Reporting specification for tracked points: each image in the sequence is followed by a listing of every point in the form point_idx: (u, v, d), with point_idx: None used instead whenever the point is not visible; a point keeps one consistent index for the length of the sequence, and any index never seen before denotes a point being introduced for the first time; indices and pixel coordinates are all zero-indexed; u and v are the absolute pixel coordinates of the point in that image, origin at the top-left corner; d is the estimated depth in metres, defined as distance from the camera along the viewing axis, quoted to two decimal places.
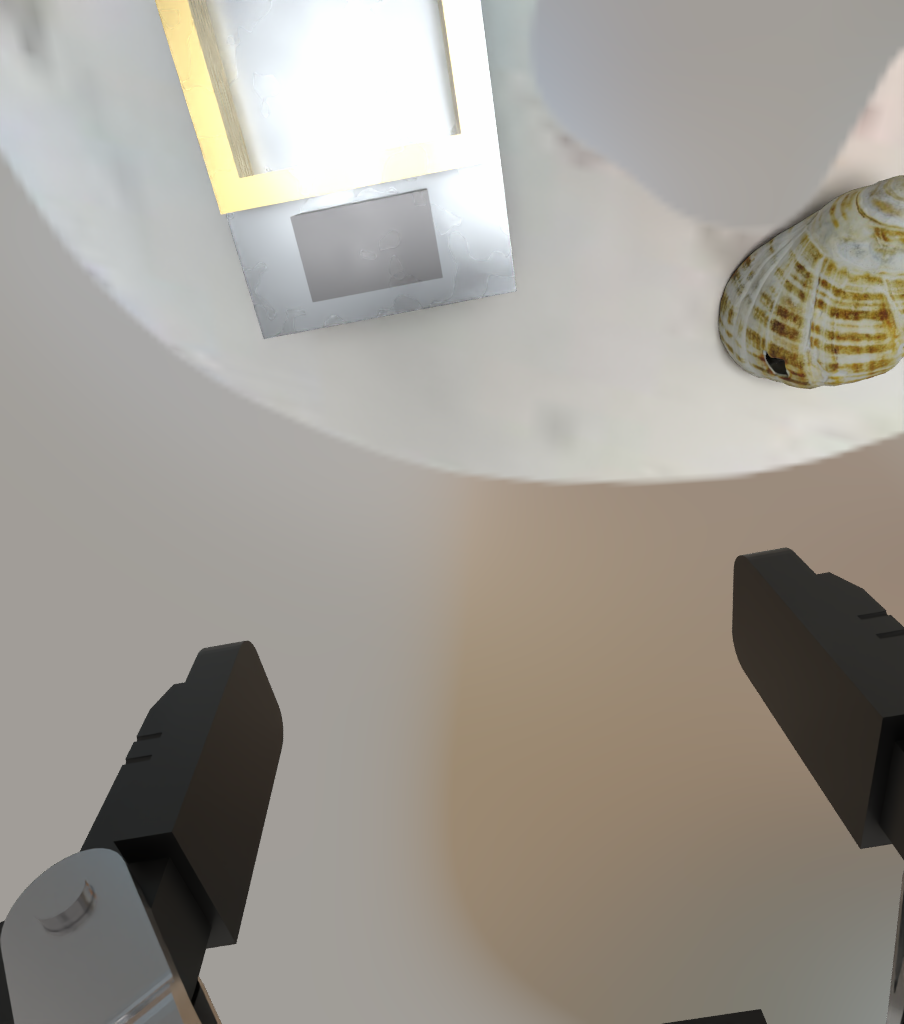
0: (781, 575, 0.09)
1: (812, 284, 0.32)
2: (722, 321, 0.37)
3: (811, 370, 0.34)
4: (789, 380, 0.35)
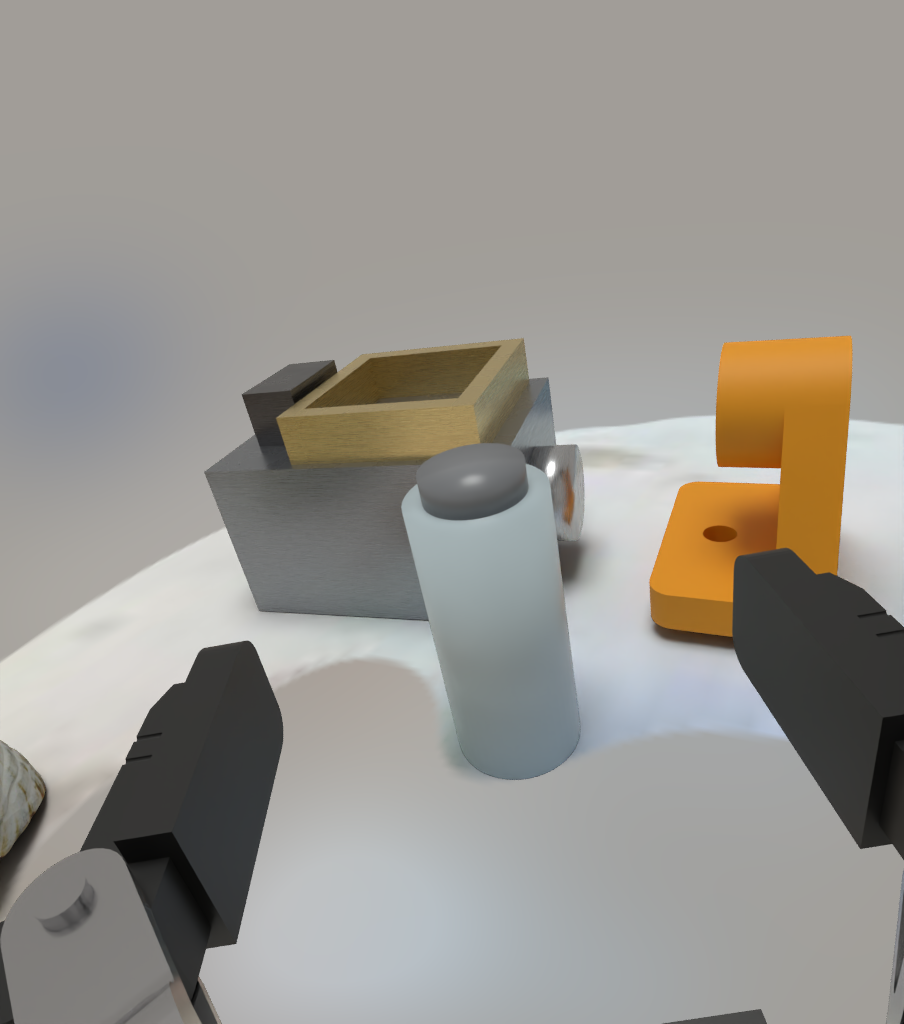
0: (781, 575, 0.09)
1: None
2: None
3: None
4: None
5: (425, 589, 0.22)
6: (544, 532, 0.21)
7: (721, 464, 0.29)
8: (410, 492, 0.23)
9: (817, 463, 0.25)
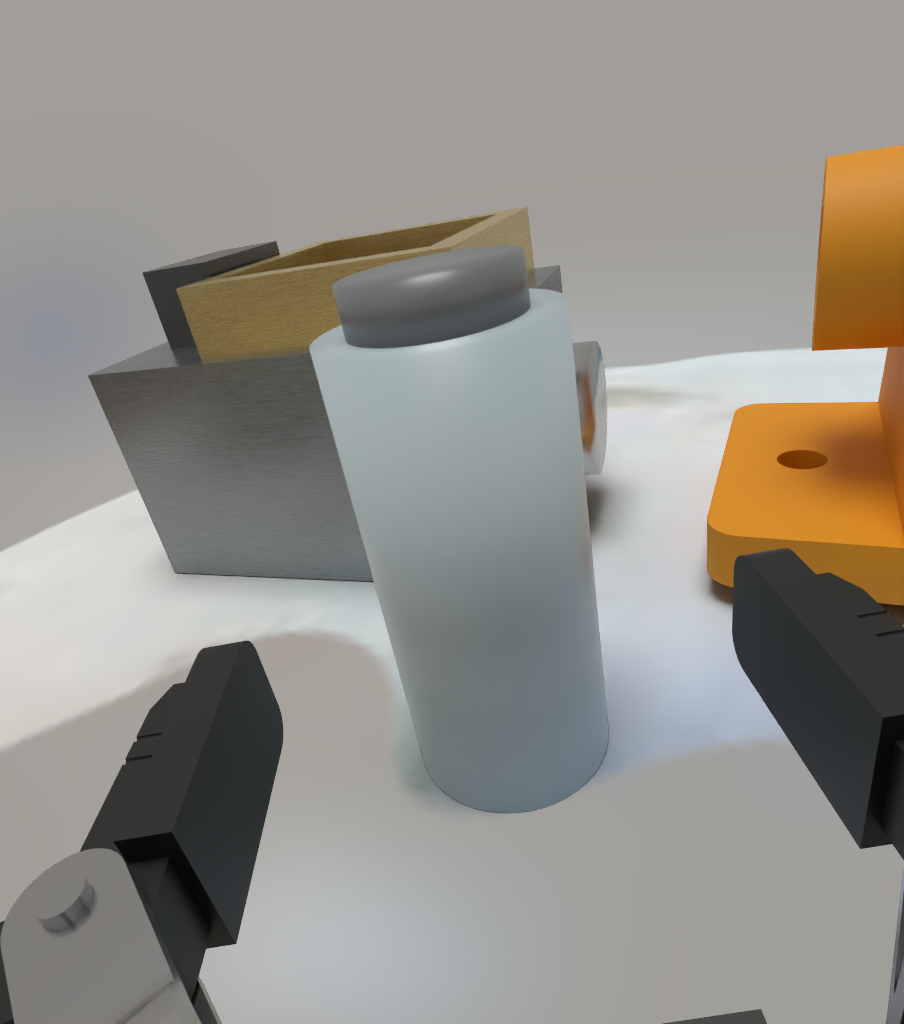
0: (781, 575, 0.09)
1: None
2: None
3: None
4: None
5: (352, 489, 0.13)
6: (559, 377, 0.12)
7: (819, 341, 0.19)
8: (332, 330, 0.14)
9: None
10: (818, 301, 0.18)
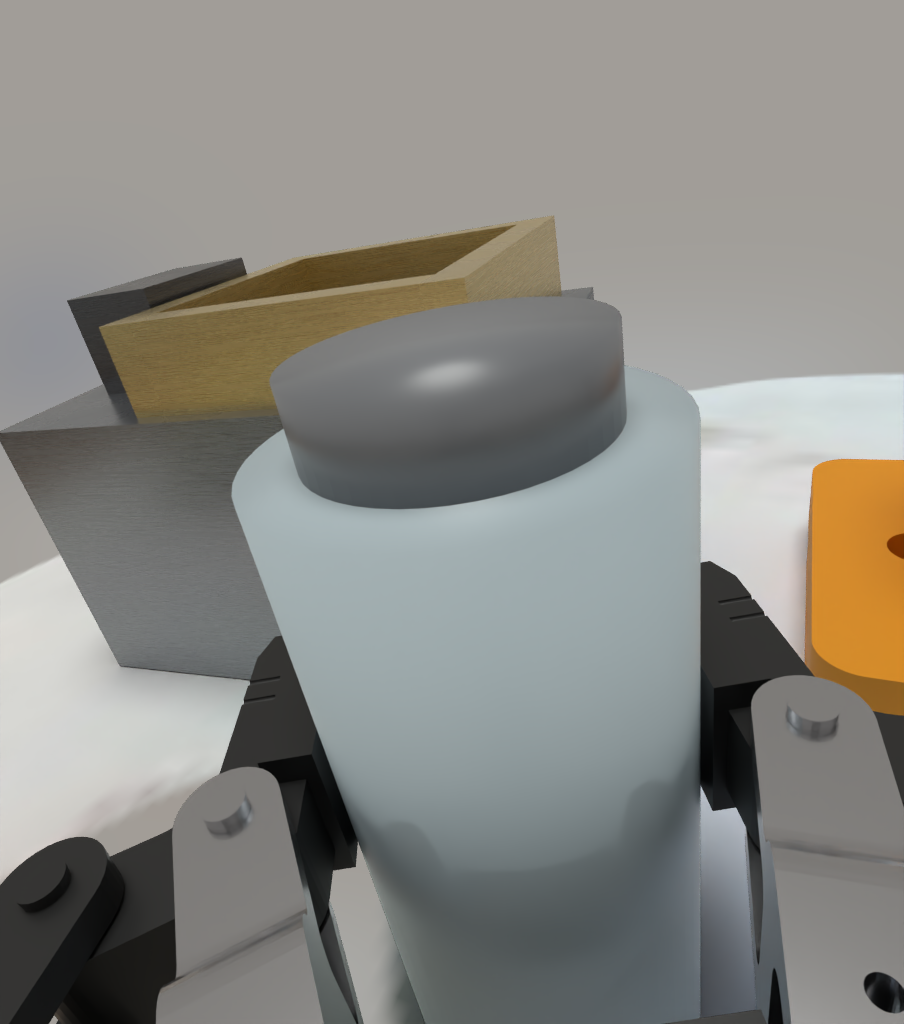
0: None
1: None
2: None
3: None
4: None
5: (312, 714, 0.08)
6: (688, 552, 0.06)
7: None
8: (281, 434, 0.08)
9: None
10: None
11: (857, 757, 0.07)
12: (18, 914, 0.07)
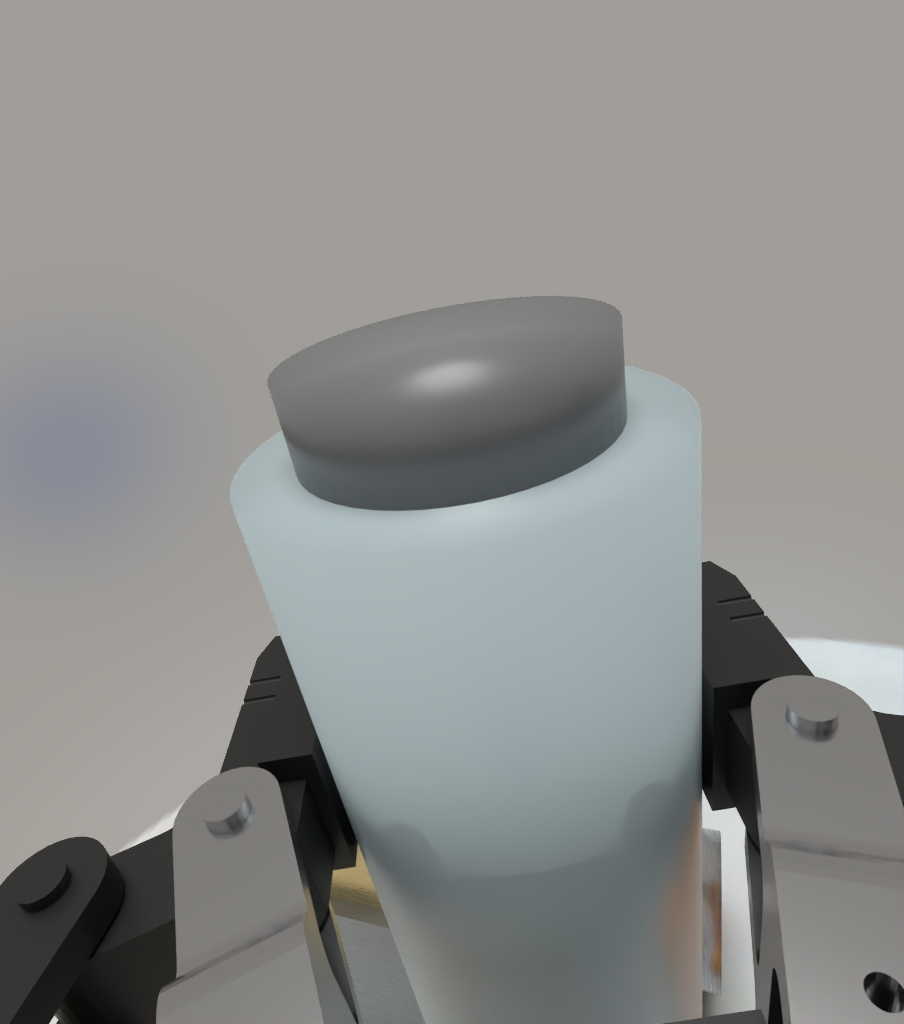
0: None
1: None
2: None
3: None
4: None
5: (311, 716, 0.08)
6: (689, 553, 0.06)
7: None
8: (279, 435, 0.08)
9: None
10: None
11: (857, 757, 0.07)
12: (18, 914, 0.07)
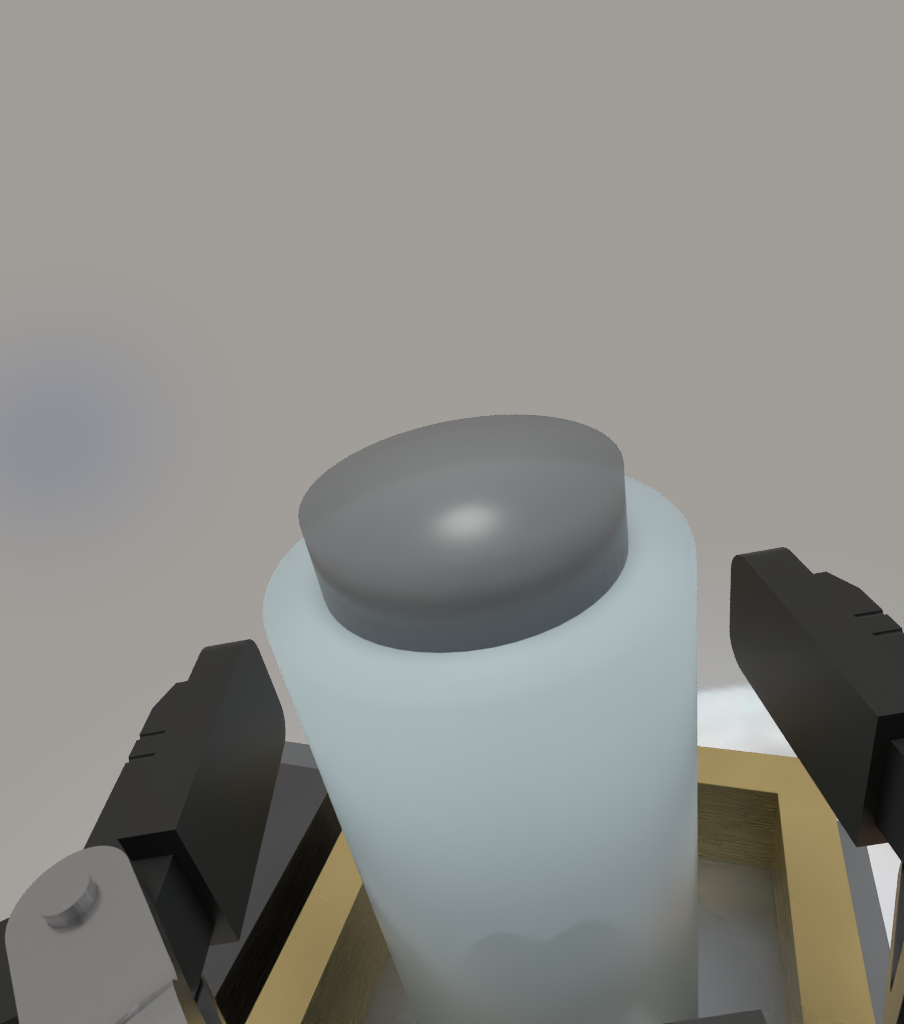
0: (778, 575, 0.09)
1: None
2: None
3: None
4: None
5: (335, 810, 0.08)
6: (685, 680, 0.07)
7: None
8: (304, 542, 0.09)
9: None
10: None
11: None
12: None
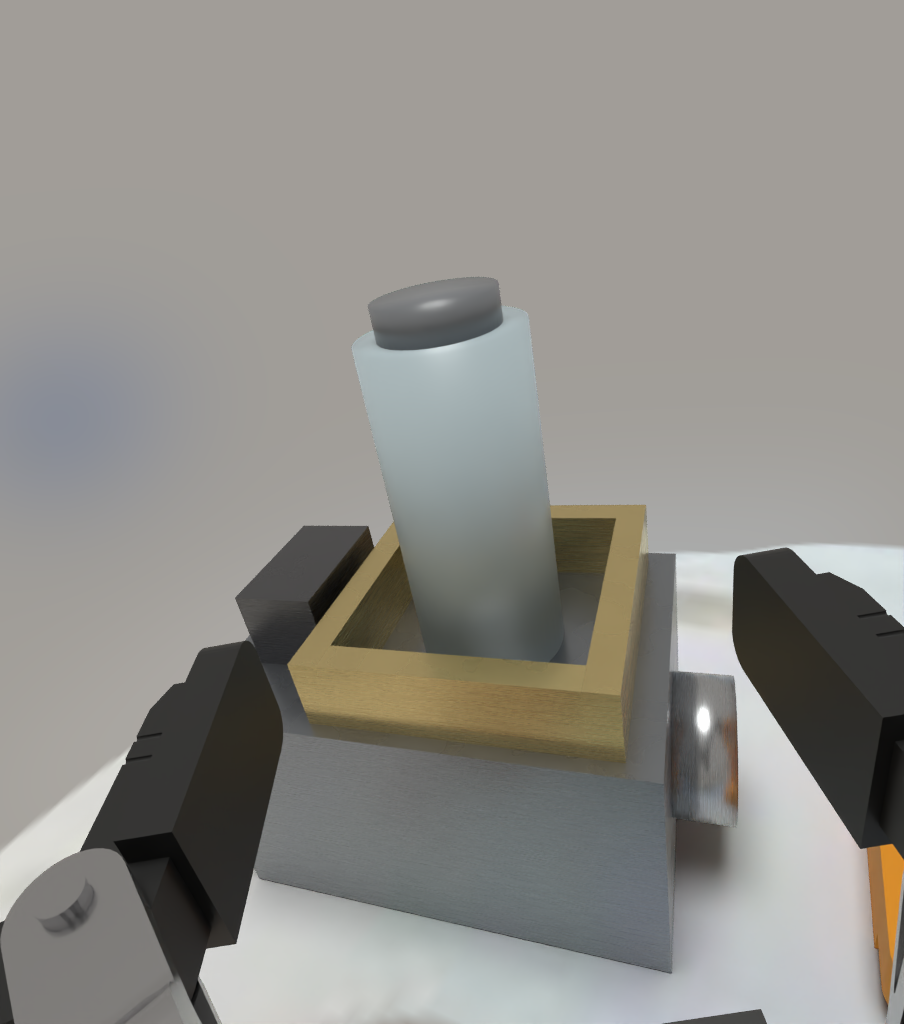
0: (781, 575, 0.09)
1: None
2: None
3: None
4: None
5: (380, 447, 0.19)
6: (521, 369, 0.18)
7: None
8: (364, 336, 0.19)
9: None
10: None
11: None
12: None
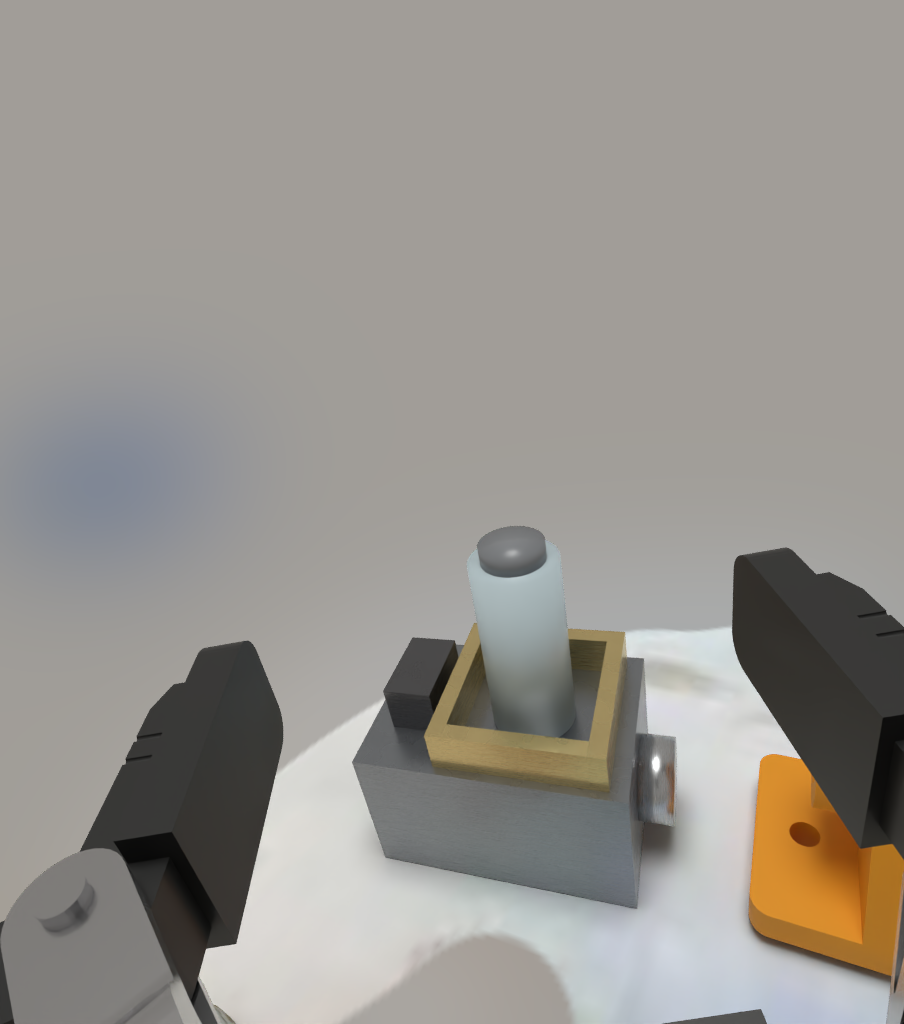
0: (781, 575, 0.09)
1: None
2: None
3: None
4: None
5: (481, 619, 0.35)
6: (557, 584, 0.34)
7: None
8: (470, 557, 0.36)
9: None
10: (814, 801, 0.32)
11: None
12: None
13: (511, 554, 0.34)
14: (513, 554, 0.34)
